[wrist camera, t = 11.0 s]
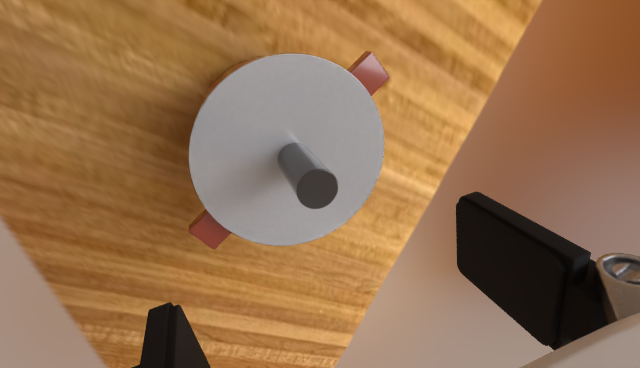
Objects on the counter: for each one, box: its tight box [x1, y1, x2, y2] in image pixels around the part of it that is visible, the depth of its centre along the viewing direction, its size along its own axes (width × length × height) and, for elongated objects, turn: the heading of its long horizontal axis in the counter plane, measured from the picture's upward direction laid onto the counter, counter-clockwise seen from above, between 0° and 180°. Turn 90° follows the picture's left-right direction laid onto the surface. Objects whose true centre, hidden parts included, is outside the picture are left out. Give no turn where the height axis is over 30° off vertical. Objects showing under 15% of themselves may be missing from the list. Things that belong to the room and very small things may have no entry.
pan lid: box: [189, 53, 384, 246], centre depth 22 cm, size 14×14×7 cm
